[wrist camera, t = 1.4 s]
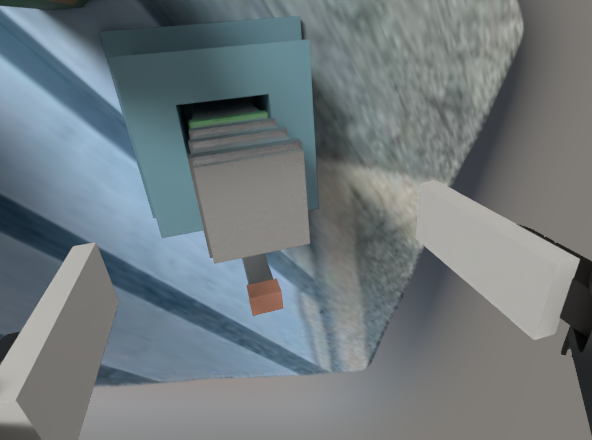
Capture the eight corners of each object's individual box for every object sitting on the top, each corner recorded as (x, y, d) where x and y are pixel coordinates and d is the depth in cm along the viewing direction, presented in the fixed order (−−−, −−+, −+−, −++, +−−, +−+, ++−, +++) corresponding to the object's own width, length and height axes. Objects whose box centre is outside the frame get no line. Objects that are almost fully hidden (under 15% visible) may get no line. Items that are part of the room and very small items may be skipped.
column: (200, 153, 37) (211, 267, 18) (189, 99, 34) (187, 164, 15) (251, 146, 38) (314, 246, 19) (244, 92, 35) (307, 146, 16)
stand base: (154, 215, 39) (123, 356, 21) (100, 32, 31) (-23, 10, 13) (309, 187, 43) (395, 289, 25) (297, 16, 35) (413, -17, 17)
